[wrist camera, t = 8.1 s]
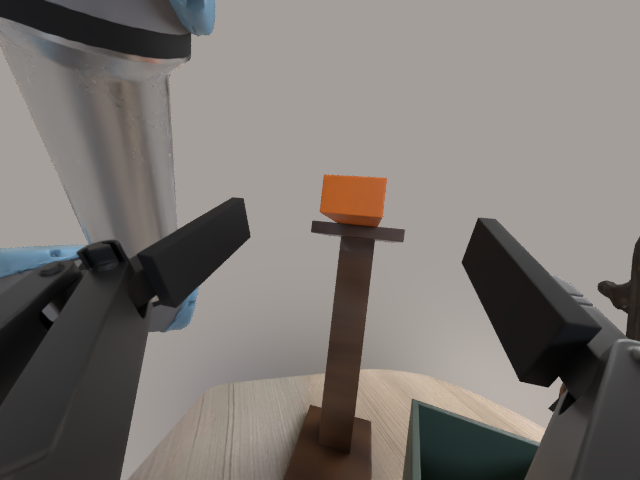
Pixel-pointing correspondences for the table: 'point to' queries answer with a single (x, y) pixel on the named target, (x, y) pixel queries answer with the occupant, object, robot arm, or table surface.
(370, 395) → the table surface
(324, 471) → the stand
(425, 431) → the trash bin
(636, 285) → the vase
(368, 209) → the block
